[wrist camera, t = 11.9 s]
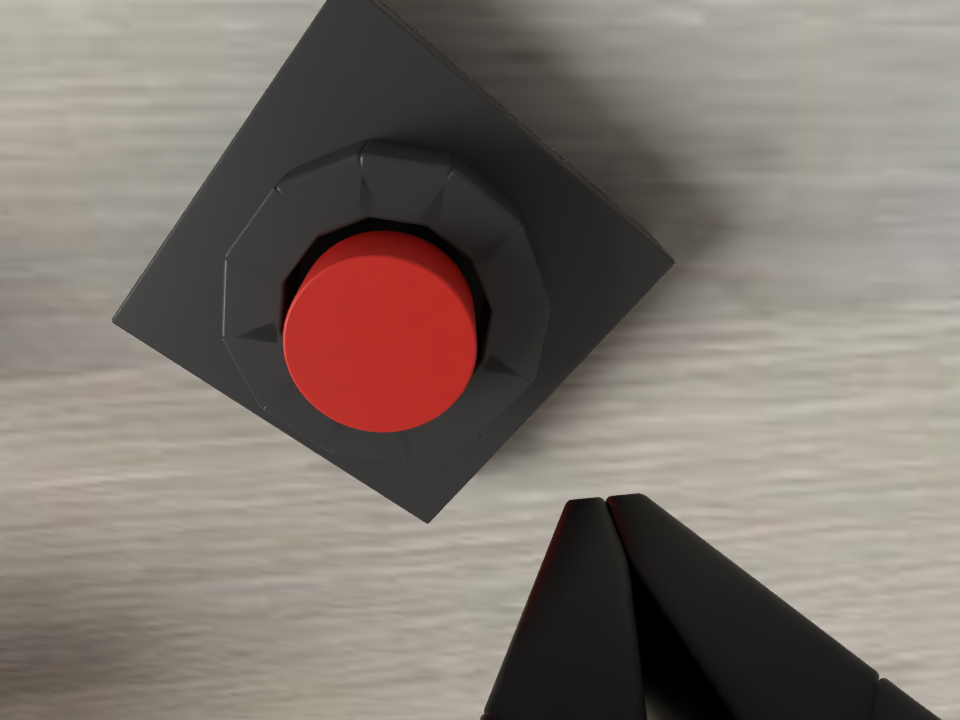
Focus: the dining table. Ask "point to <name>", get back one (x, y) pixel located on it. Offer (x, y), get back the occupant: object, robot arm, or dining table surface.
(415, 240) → the power button
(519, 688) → the robot arm
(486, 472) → the dining table surface
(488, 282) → the switch box
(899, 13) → the dining table surface
